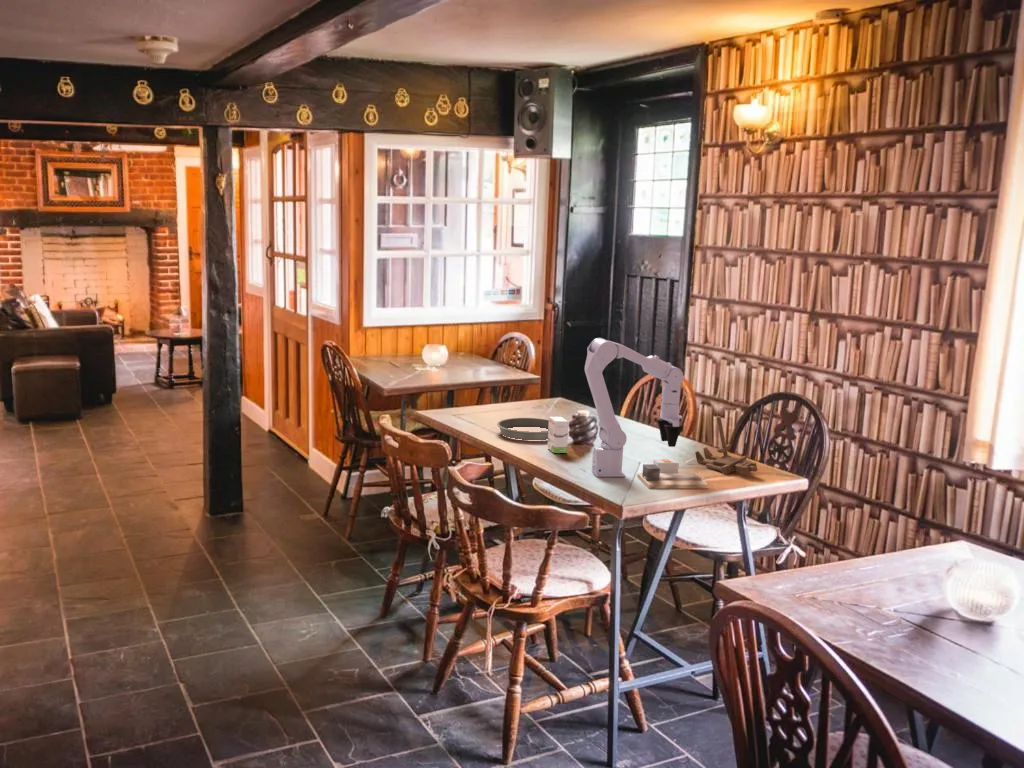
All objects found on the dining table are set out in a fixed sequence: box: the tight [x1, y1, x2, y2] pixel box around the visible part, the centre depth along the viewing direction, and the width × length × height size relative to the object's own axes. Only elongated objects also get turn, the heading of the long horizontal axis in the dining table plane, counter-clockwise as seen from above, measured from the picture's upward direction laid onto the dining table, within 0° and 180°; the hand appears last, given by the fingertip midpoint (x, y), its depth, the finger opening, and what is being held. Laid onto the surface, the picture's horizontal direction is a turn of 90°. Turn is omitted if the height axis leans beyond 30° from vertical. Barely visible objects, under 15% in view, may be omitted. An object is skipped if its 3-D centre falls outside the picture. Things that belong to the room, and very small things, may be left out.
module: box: [652, 458, 680, 473], centre depth 311 cm, size 7×5×4 cm
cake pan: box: [496, 417, 549, 440], centre depth 358 cm, size 25×25×4 cm
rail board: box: [637, 463, 709, 489], centre depth 299 cm, size 19×13×5 cm
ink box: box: [547, 416, 569, 454], centre depth 334 cm, size 9×5×12 cm, turn 15°
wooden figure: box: [685, 415, 758, 476], centre depth 316 cm, size 14×18×25 cm
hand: (668, 443), depth 310 cm, fingers open, 7 cm apart
